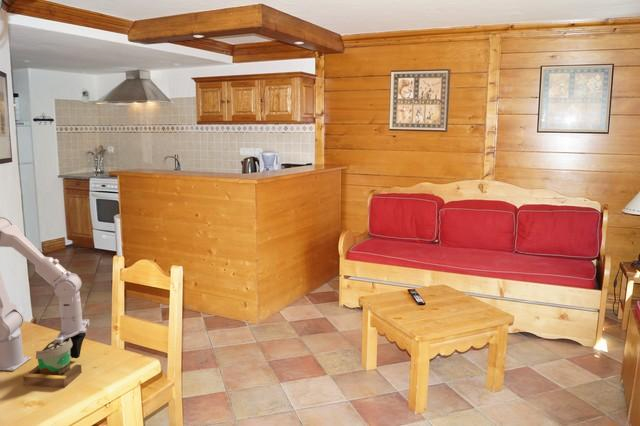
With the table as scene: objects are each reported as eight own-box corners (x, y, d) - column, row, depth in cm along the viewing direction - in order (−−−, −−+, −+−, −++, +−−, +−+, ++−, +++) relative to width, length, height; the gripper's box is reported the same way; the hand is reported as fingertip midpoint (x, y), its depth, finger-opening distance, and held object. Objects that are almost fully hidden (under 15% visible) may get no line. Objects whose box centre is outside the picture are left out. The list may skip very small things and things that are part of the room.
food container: (60, 386, 139) (57, 352, 137) (38, 385, 139) (35, 352, 137) (83, 364, 151) (80, 333, 149) (63, 363, 151) (59, 332, 149)
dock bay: (24, 384, 140) (22, 375, 139) (43, 370, 148) (42, 361, 147) (64, 387, 138) (63, 378, 138) (81, 372, 146) (80, 363, 146)
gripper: (69, 325, 143) (73, 369, 146) (97, 306, 157) (100, 347, 160) (46, 324, 144) (50, 368, 146) (75, 305, 158) (79, 345, 161)
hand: (75, 357), depth 153 cm, fingers closed
